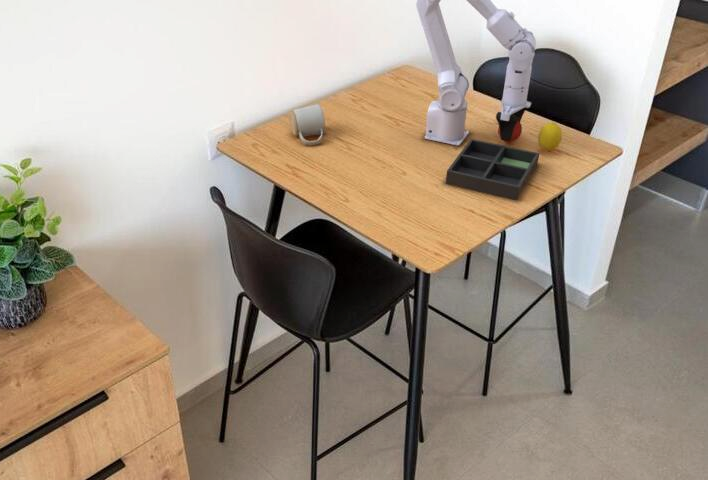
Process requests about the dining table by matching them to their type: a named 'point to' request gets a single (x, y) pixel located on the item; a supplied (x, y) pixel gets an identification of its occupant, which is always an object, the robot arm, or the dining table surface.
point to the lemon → (550, 136)
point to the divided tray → (492, 169)
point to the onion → (514, 132)
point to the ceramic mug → (308, 123)
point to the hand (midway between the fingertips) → (509, 134)
